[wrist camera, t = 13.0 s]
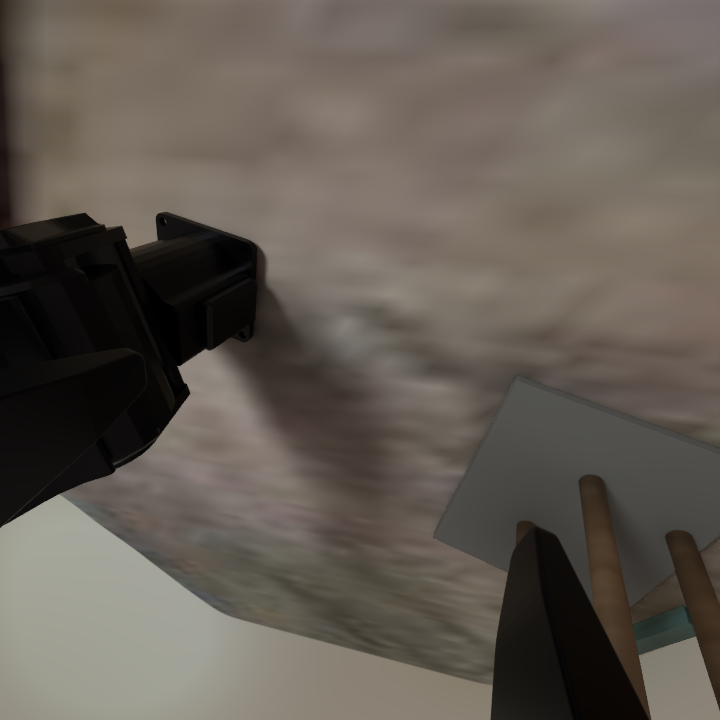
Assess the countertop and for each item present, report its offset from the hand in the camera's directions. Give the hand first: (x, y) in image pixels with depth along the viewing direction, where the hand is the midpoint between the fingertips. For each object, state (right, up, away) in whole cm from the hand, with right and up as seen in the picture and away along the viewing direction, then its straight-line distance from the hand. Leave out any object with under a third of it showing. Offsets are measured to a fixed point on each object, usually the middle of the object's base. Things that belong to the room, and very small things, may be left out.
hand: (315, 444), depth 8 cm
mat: (+13, -7, +14) cm, 21 cm away
